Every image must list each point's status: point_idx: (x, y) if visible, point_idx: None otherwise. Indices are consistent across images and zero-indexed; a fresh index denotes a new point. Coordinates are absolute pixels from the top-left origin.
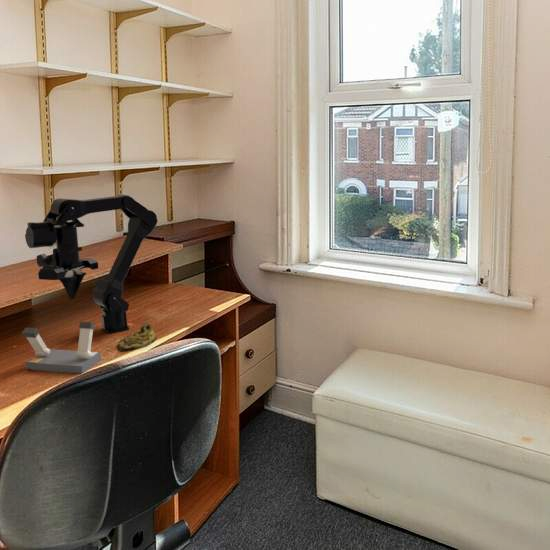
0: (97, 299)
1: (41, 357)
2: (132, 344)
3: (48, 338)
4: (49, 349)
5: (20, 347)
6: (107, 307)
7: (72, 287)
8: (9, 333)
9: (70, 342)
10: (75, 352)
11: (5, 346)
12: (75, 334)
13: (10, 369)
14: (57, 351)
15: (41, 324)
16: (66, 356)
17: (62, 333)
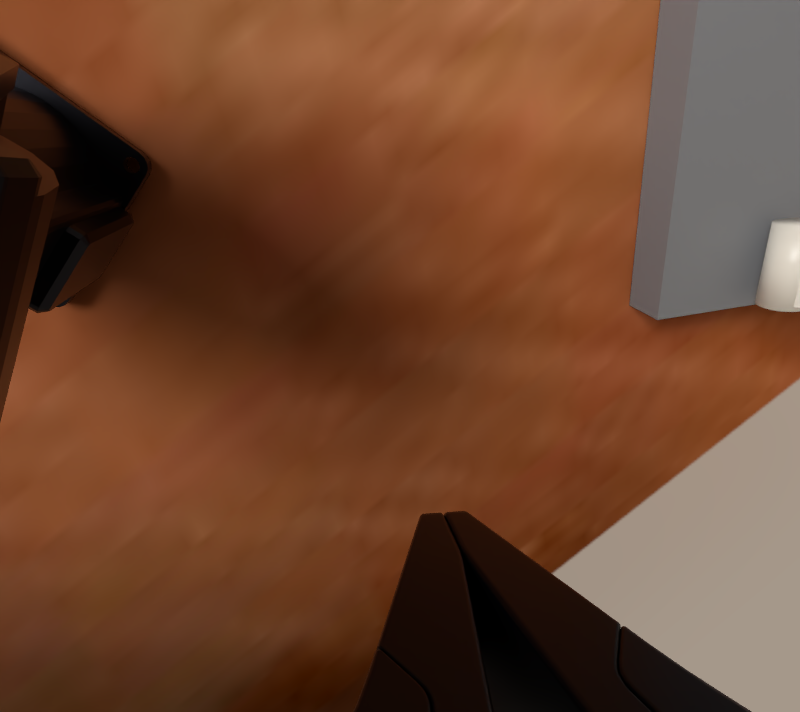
0: (3, 363)
1: None
2: None
3: (382, 497)
4: (793, 226)
5: (530, 523)
6: (24, 149)
7: (658, 658)
8: None
9: (405, 332)
10: (719, 58)
11: None
12: (268, 403)
13: (796, 356)
14: (697, 218)
15: (208, 675)
16: (789, 78)
17: (284, 487)
